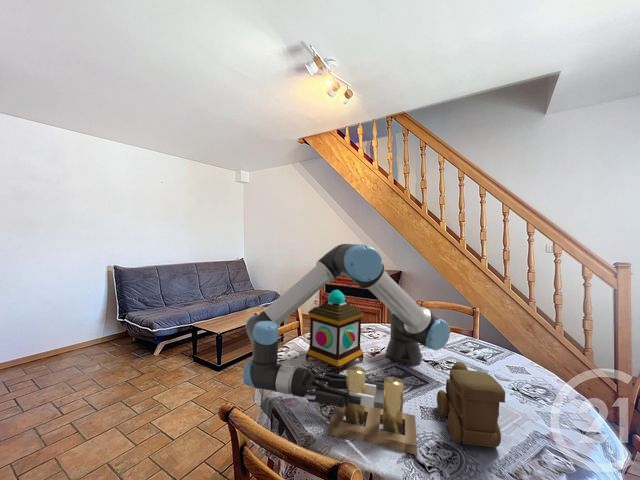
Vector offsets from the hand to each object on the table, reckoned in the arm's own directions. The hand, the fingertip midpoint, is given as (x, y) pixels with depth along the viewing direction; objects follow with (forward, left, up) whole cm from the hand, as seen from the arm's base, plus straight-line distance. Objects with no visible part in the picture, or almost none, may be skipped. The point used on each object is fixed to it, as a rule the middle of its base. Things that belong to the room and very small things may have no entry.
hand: (374, 396), depth 76 cm
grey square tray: (-11, -10, -9) cm, 18 cm away
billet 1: (+3, -4, -8) cm, 9 cm away
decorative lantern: (-16, -39, -9) cm, 43 cm away
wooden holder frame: (0, 0, -9) cm, 9 cm away
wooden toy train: (-22, +13, -9) cm, 27 cm away
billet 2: (-3, +4, -9) cm, 10 cm away
